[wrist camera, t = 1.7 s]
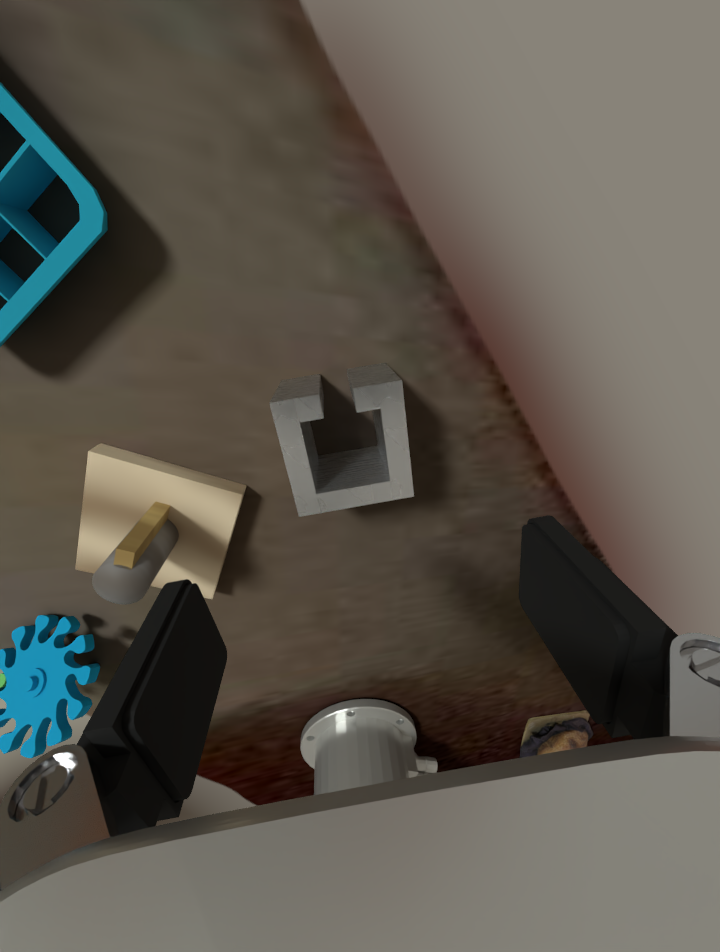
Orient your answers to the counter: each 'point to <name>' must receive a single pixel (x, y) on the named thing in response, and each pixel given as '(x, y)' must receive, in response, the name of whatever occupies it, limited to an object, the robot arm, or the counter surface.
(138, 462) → the keyed post stand
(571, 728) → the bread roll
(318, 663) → the counter surface
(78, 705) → the gear
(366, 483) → the grey hollow block
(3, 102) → the ice cube tray
